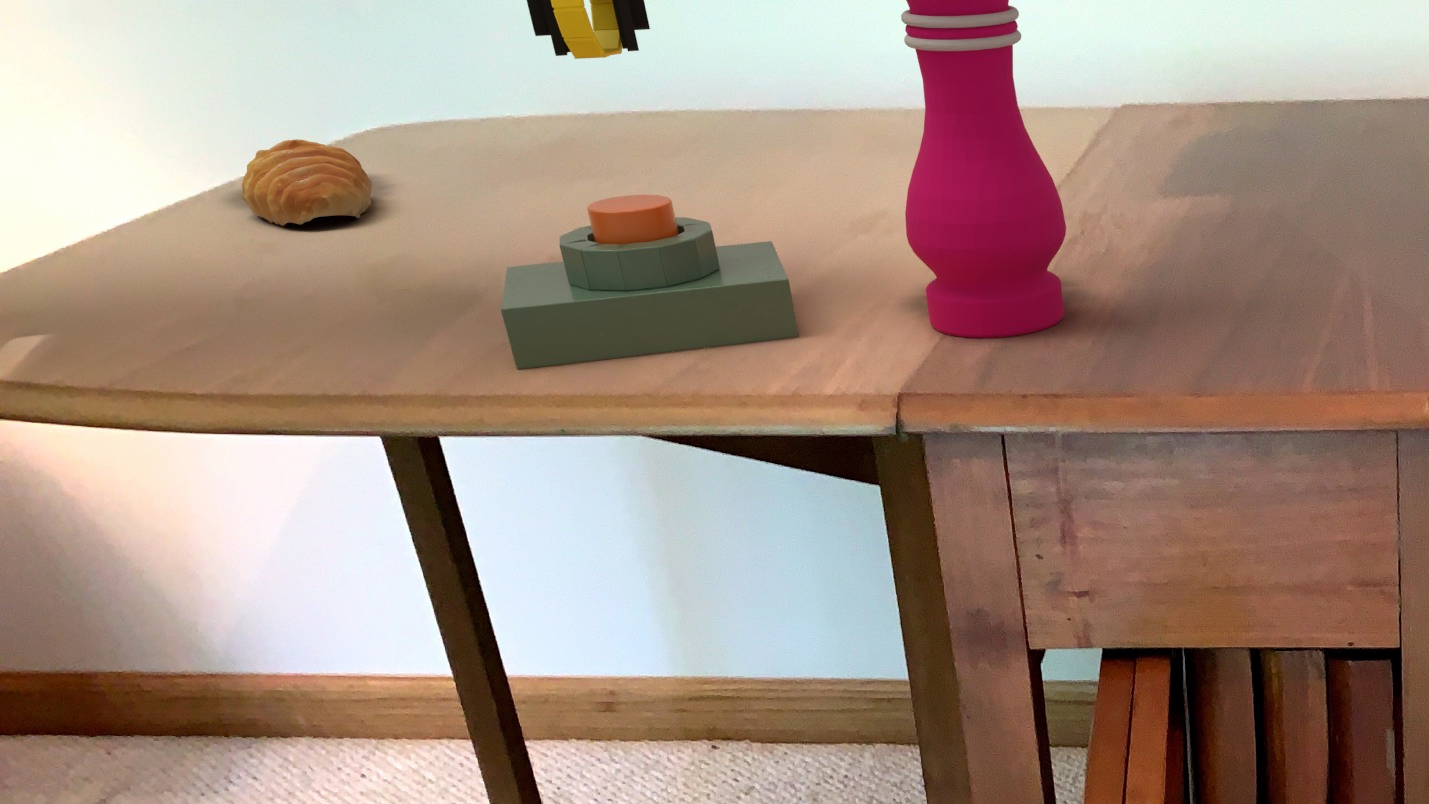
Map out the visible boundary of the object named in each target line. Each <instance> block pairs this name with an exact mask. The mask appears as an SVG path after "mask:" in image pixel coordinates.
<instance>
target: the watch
mask: <svg viewBox="0 0 1429 804" xmlns="http://www.w3.org/2000/svg"><path fill="white" fill-rule="evenodd" d="M551 4H552V7H553V8H554V10H553V12H554V14H555V17H556V20H557V23H558V26H559V29H560V31H561V34H562V37H563V38H564V41H565V43H566V44H567V46H568V48H569V49H570V51H571V52H570V53H571V54H572V56H573V58H574V59H575V60H578V59H599V58H600V59H602V58H608V57H610V56H615V55H621V54H622V53H623V48H622V43H621V39H620V34H619V30H618V25H617V20H616V16H615V11H614V7H613V2H612V0H589V4H590V14H591V20H590V18H589V15H588V12H587V8H586V7H585V5H586V4H585V1H584V0H551Z"/></svg>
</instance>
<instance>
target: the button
mask: <svg viewBox="0 0 1429 804" xmlns="http://www.w3.org/2000/svg"><path fill="white" fill-rule="evenodd" d="M586 210H587V215H588V219H589V223H590V225H591V227H592V232H593V236H594V240H595V242H596V243H600V244H630V243H641V242H651V241H656V240H661V239H665V238H670V237H674V236H676V235H679V232H678V228H677V223H676V218H675V217H676V214H675V209H674V206H673V200H672V199H671V198H670V197H668V196H664V195H658V194H631V195H630V194H629V195H619V196H613V197H607V198H604V199H599V200H597V201H594V202H591V203H589V204H588V205H587V207H586Z"/></svg>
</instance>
